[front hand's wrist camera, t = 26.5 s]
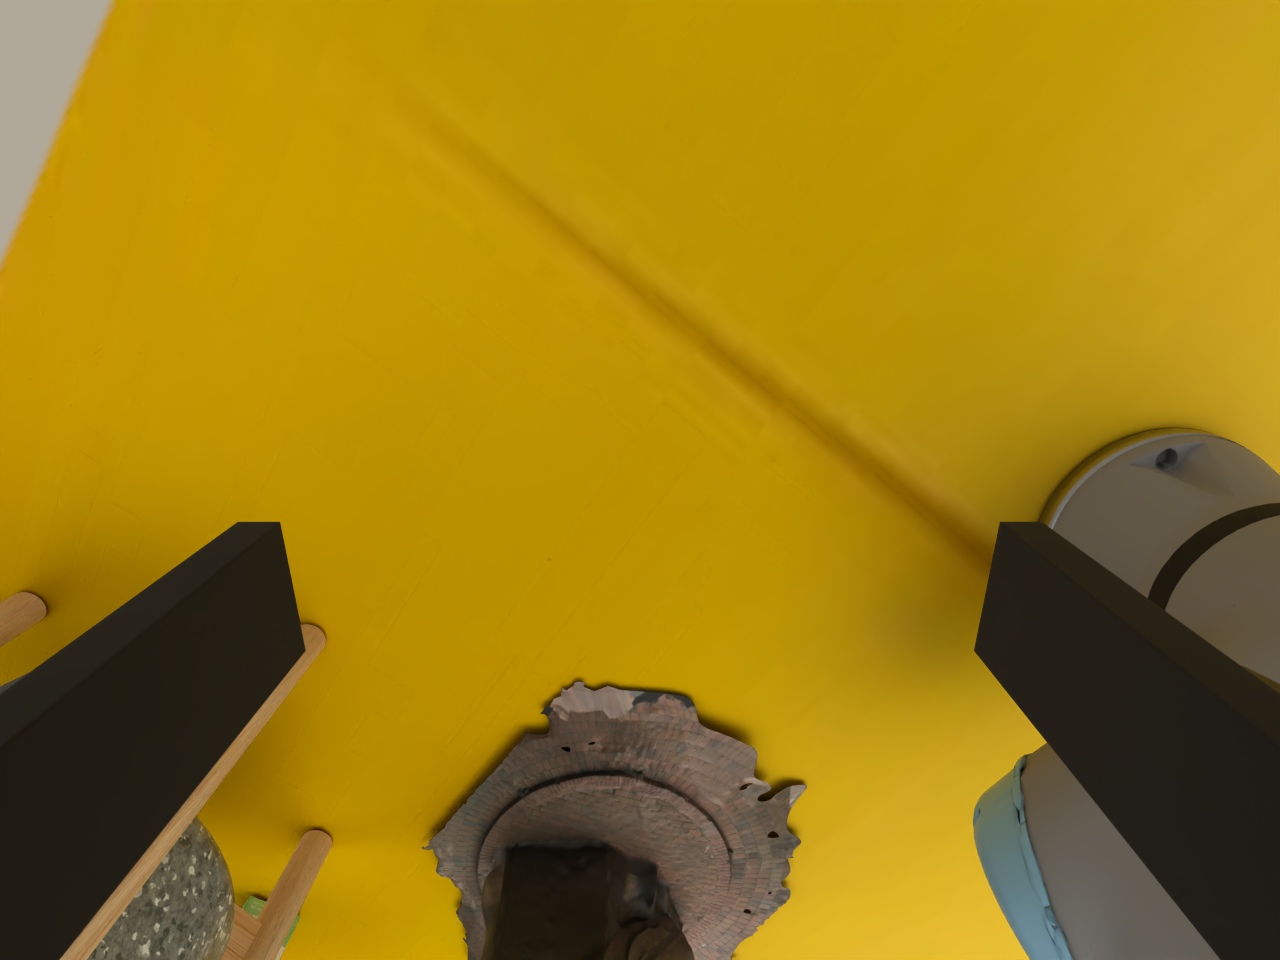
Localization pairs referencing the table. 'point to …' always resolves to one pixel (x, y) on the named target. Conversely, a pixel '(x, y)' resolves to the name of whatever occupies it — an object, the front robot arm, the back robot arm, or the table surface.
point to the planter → (193, 861)
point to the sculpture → (618, 838)
